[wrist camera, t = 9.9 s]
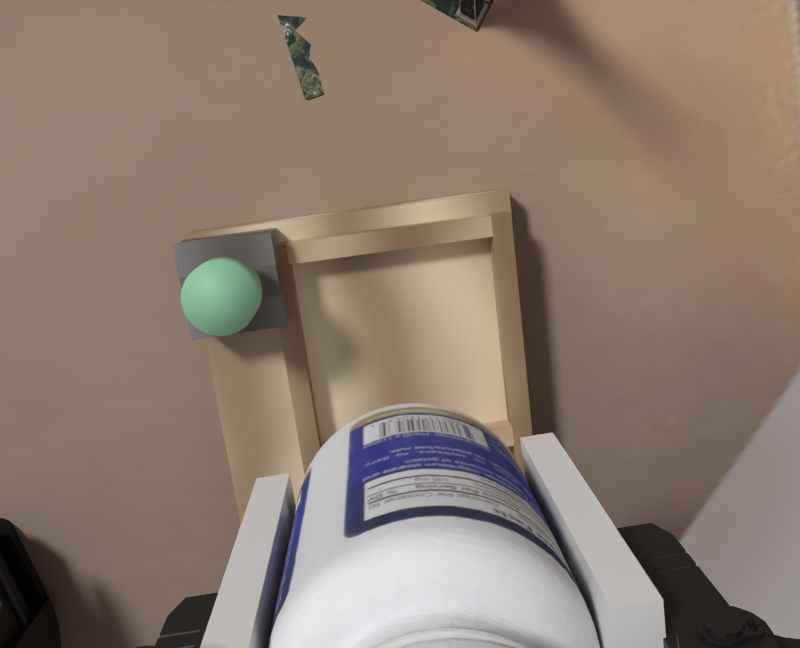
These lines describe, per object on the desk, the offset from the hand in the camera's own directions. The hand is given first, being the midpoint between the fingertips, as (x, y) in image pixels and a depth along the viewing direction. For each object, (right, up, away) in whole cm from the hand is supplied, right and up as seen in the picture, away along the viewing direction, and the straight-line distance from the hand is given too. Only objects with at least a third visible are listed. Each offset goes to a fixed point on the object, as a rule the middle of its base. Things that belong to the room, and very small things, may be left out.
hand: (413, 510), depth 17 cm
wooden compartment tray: (-1, -1, +16) cm, 16 cm away
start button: (-7, +6, +12) cm, 15 cm away
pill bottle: (0, 0, +1) cm, 0 cm away
